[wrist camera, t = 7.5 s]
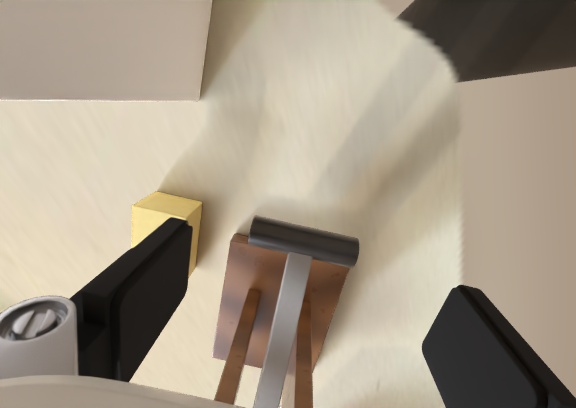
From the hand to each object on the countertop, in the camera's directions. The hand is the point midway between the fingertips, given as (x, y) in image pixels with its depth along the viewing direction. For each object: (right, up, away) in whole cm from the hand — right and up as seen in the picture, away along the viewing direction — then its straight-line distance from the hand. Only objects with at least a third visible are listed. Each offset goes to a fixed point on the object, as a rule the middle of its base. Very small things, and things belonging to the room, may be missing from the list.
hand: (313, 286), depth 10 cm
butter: (-10, +1, +12) cm, 15 cm away
